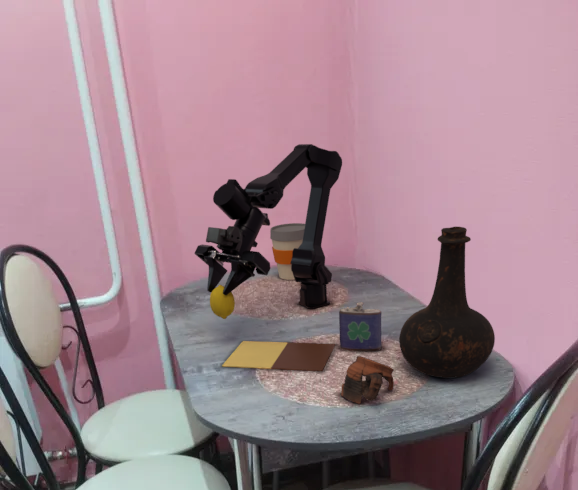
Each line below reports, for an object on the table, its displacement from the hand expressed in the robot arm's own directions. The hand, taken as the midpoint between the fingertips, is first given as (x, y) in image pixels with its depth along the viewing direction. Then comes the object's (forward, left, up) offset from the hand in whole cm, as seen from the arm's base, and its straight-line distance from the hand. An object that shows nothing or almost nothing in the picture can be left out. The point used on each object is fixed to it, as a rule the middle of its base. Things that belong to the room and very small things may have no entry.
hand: (216, 293), depth 133 cm
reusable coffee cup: (-43, -41, -13) cm, 61 cm away
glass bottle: (-31, +40, -13) cm, 52 cm away
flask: (-24, +20, -13) cm, 34 cm away
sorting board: (-8, +12, -13) cm, 20 cm away
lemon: (-1, 0, -7) cm, 7 cm away
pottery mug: (-12, +39, -13) cm, 43 cm away
